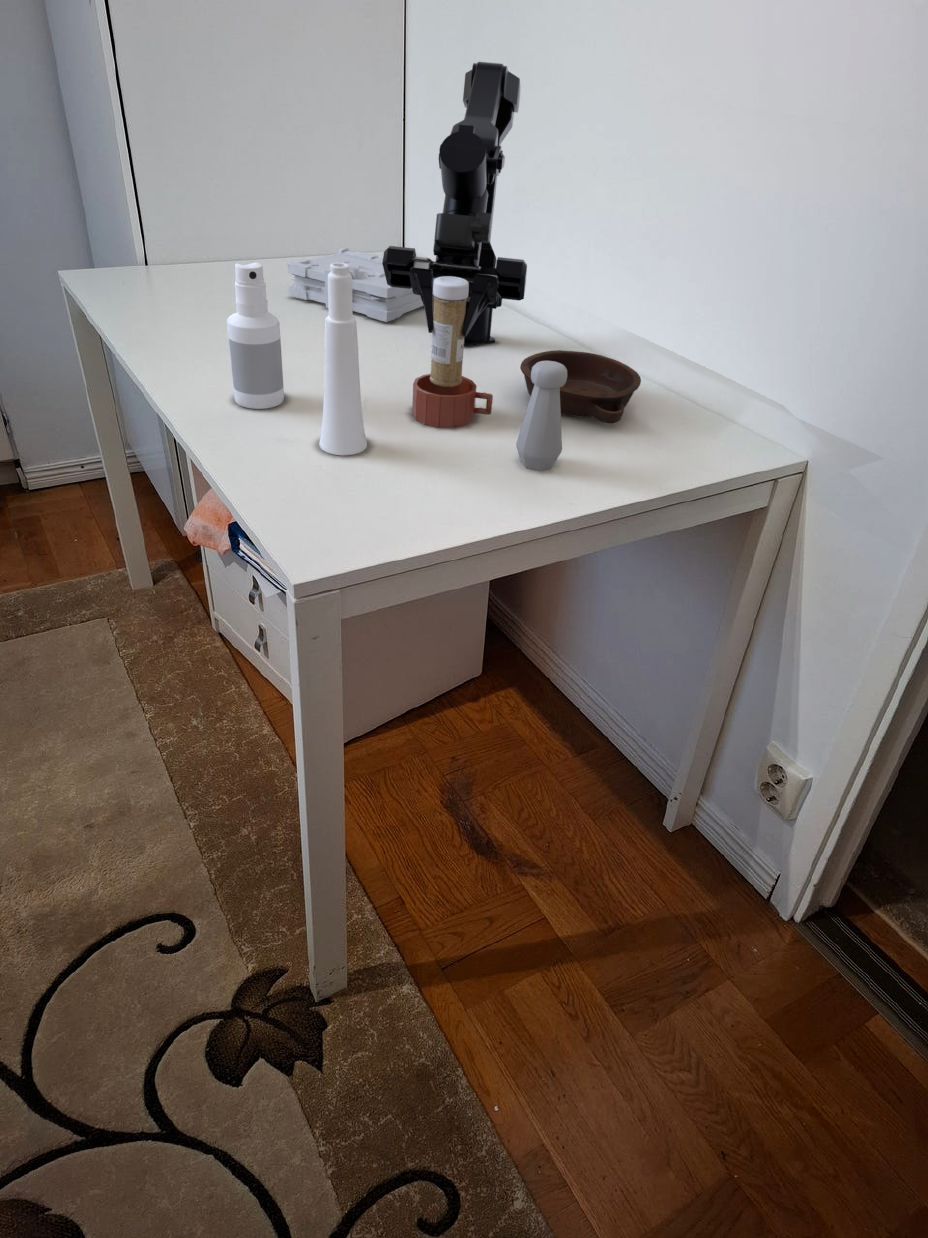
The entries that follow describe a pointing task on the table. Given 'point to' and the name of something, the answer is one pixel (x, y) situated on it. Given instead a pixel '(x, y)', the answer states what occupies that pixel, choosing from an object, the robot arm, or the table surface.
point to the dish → (589, 383)
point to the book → (354, 284)
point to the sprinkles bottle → (448, 330)
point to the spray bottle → (254, 343)
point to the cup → (447, 403)
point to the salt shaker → (542, 418)
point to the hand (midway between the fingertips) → (446, 333)
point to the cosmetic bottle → (341, 370)
